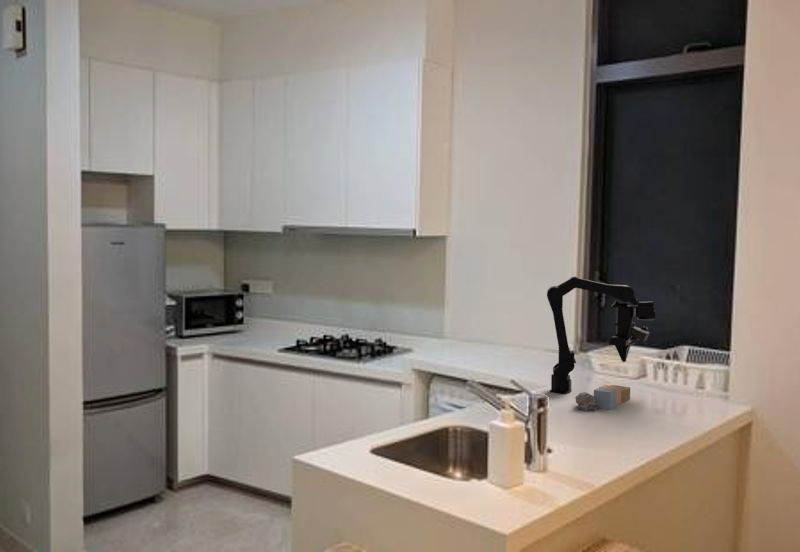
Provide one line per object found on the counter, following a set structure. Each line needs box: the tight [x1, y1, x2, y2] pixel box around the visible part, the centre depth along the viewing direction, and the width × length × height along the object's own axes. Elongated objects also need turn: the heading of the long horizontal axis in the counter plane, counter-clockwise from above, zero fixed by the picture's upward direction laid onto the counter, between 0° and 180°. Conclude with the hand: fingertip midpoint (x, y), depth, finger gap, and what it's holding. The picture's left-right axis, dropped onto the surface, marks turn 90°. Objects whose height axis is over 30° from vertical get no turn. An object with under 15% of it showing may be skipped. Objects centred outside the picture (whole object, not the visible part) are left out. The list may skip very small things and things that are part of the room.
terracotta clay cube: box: [598, 384, 622, 407], centre depth 250 cm, size 6×5×6 cm
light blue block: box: [593, 387, 617, 411], centre depth 246 cm, size 6×5×6 cm
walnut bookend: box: [610, 384, 631, 404], centre depth 256 cm, size 7×9×4 cm
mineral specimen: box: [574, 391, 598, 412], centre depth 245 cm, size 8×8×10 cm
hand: (624, 361), depth 265 cm, fingers closed
